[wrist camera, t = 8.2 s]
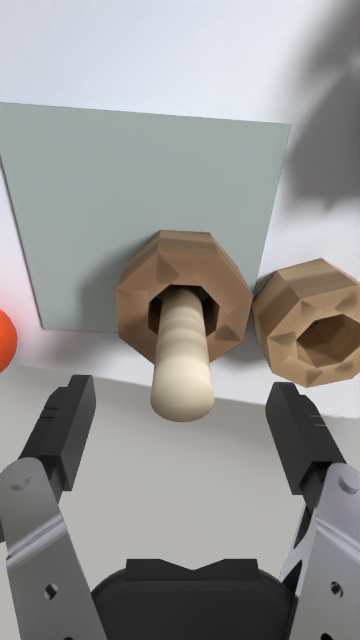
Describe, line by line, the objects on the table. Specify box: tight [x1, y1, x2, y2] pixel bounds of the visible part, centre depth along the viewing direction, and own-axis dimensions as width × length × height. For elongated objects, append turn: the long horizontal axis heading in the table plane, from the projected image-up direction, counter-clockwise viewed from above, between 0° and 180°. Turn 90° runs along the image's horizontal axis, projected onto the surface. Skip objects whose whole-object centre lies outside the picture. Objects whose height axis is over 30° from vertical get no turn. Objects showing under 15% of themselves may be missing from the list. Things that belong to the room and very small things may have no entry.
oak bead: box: [251, 258, 360, 388], centre depth 22 cm, size 9×9×5 cm
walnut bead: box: [115, 230, 253, 365], centre depth 20 cm, size 9×9×5 cm
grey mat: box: [0, 102, 292, 333], centre depth 21 cm, size 16×18×1 cm
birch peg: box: [151, 284, 214, 422], centre depth 17 cm, size 3×3×12 cm
